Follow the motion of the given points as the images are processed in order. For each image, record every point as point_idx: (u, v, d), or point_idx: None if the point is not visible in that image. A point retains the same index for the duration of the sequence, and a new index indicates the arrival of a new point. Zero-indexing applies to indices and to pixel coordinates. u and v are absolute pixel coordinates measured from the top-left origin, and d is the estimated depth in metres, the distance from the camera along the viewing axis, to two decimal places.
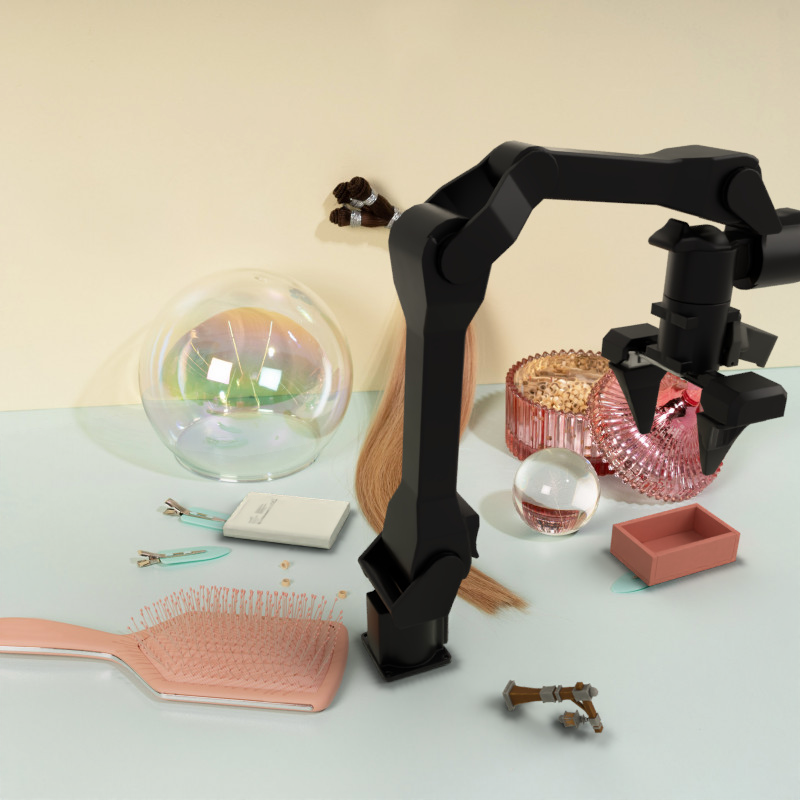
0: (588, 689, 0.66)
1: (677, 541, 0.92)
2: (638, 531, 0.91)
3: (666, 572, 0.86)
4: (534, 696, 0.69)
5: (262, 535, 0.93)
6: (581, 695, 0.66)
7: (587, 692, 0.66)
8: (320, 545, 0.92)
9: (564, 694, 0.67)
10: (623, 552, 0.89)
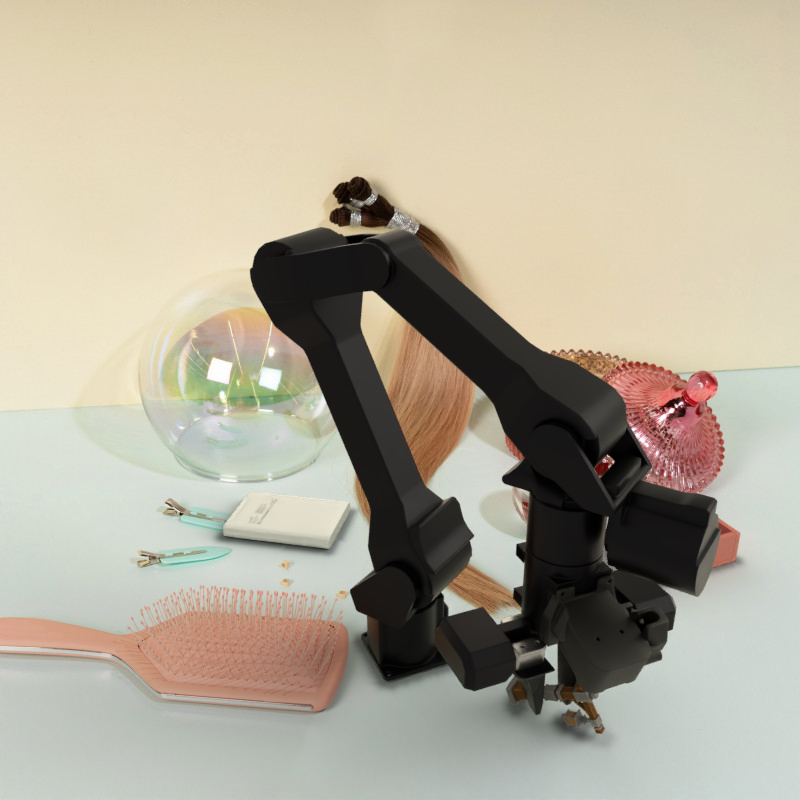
0: None
1: None
2: None
3: None
4: None
5: (262, 535, 0.93)
6: (581, 696, 0.66)
7: (587, 694, 0.66)
8: (320, 545, 0.92)
9: (565, 694, 0.67)
10: None
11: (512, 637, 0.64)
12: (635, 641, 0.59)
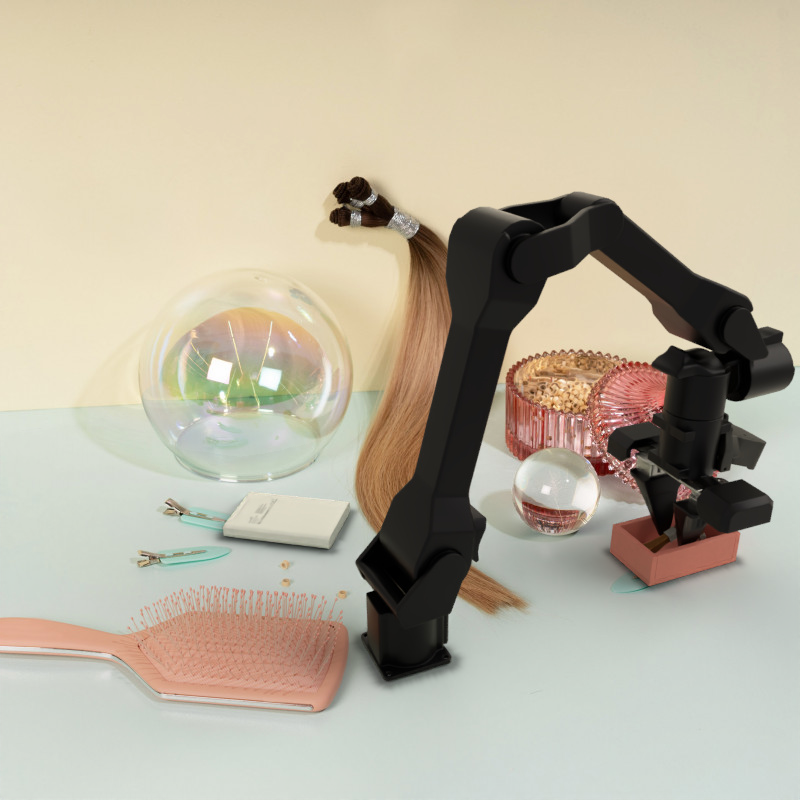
0: None
1: None
2: (638, 531, 0.91)
3: (666, 572, 0.86)
4: (664, 541, 0.88)
5: (262, 535, 0.93)
6: None
7: None
8: (320, 545, 0.92)
9: None
10: (623, 552, 0.89)
11: None
12: (733, 426, 0.89)
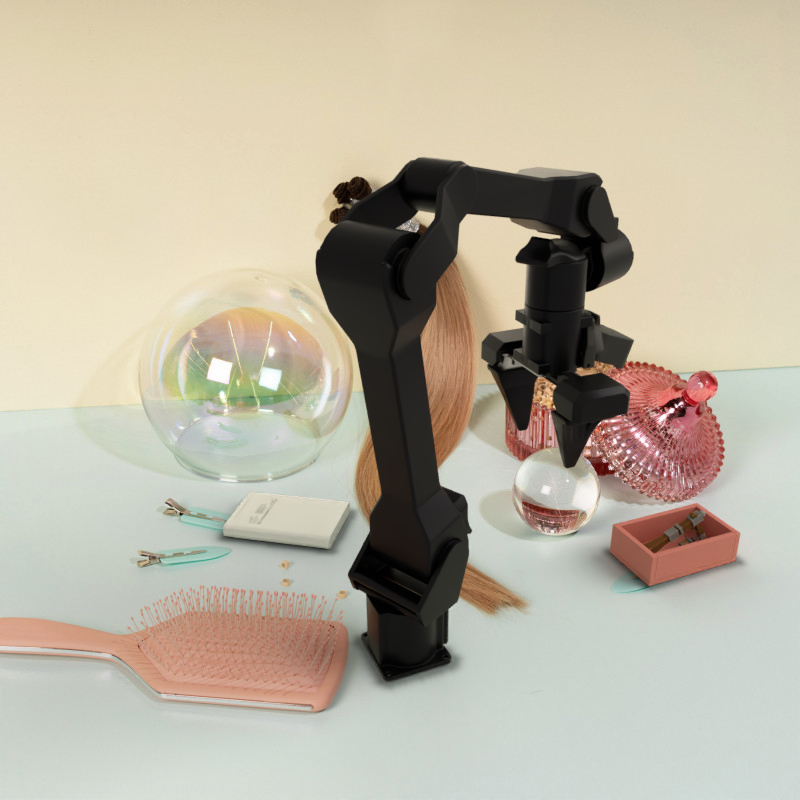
0: (699, 513, 0.89)
1: (677, 541, 0.92)
2: (638, 531, 0.91)
3: (666, 572, 0.86)
4: (664, 541, 0.88)
5: (262, 535, 0.93)
6: (697, 520, 0.89)
7: (701, 514, 0.89)
8: (320, 545, 0.92)
9: (685, 526, 0.89)
10: (623, 552, 0.89)
11: None
12: (604, 327, 0.87)
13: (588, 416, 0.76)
